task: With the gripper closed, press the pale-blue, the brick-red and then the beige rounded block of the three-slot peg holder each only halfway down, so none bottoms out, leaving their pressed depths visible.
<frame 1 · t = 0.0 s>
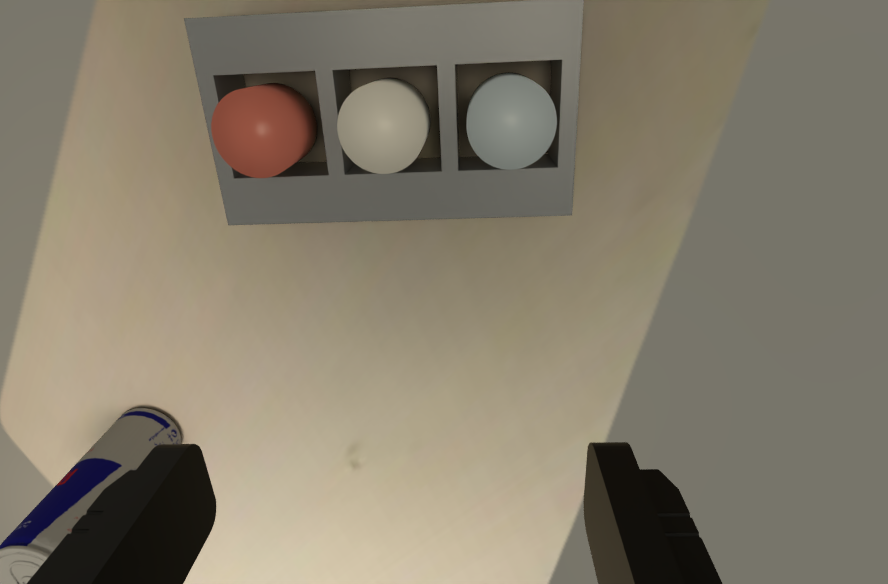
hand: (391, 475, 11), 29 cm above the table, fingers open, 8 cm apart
red rounded block: (267, 129, 32), point 5 cm above the table, slide at 0.0 cm
beige rounded block: (386, 124, 31), point 6 cm above the table, slide at 0.0 cm
pale blue rounded block: (509, 119, 31), point 6 cm above the table, slide at 0.0 cm
beverage can: (153, 429, 49), on the table
three-slot peg holder: (398, 113, 36), on the table
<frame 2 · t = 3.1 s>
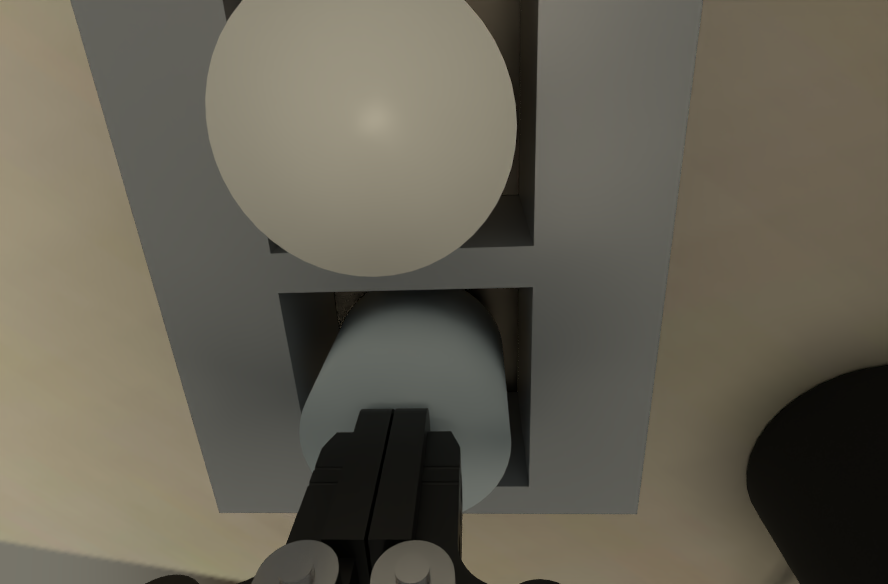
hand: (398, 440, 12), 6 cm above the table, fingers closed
beige rounded block: (380, 117, 10), point 5 cm above the table, slide at 0.0 cm
pale blue rounded block: (413, 392, 14), point 4 cm above the table, slide at 1.2 cm, touching gripper
three-slot peg holder: (411, 92, 15), on the table
mug: (836, 495, 21), on the table
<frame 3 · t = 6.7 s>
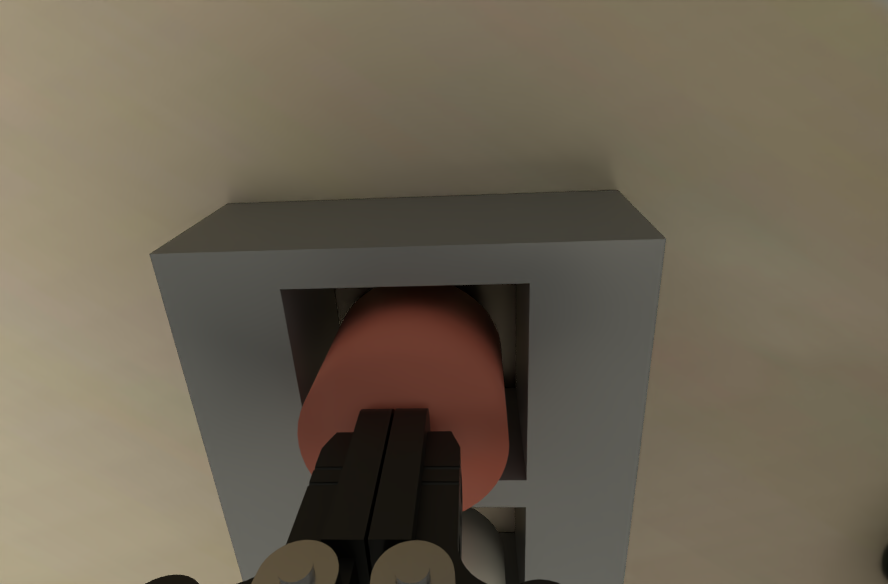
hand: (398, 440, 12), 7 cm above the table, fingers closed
red rounded block: (411, 393, 14), point 5 cm above the table, slide at 0.9 cm, touching gripper
three-slot peg holder: (437, 475, 21), on the table
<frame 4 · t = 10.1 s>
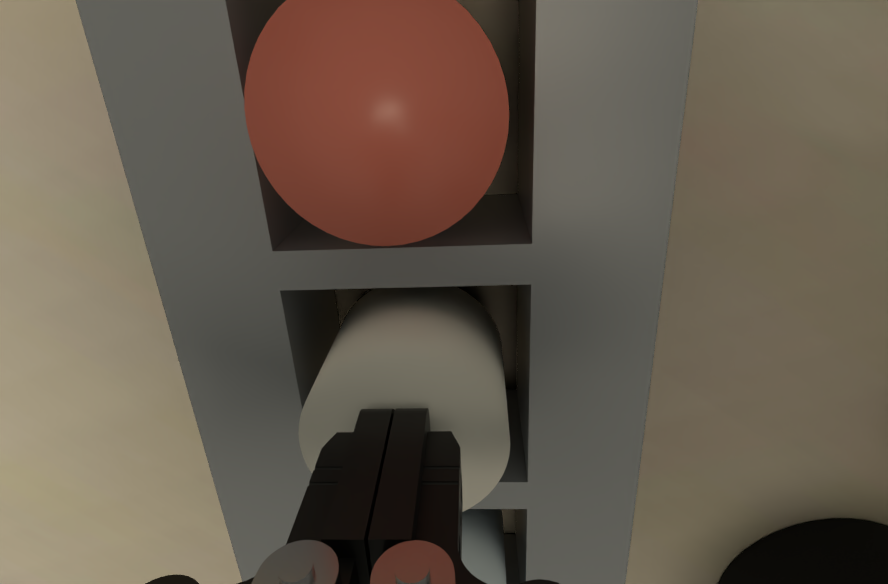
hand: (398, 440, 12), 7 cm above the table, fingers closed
red rounded block: (391, 108, 12), point 4 cm above the table, slide at 1.4 cm
beige rounded block: (412, 393, 14), point 4 cm above the table, slide at 1.0 cm, touching gripper
pale blue rounded block: (429, 568, 17), point 4 cm above the table, slide at 1.4 cm
three-slot peg holder: (426, 315, 18), on the table
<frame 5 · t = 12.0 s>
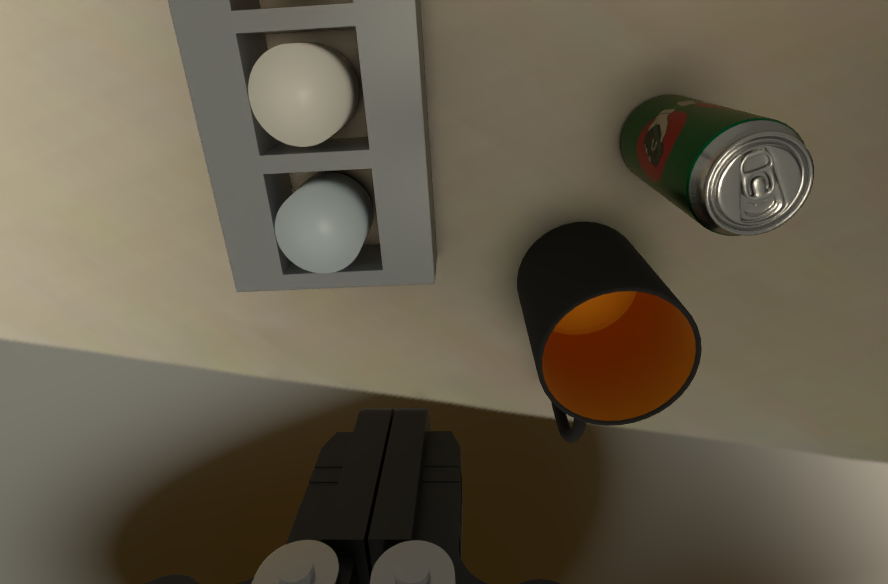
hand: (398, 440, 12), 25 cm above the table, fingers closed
beige rounded block: (307, 93, 29), point 4 cm above the table, slide at 1.4 cm
pale blue rounded block: (326, 221, 32), point 4 cm above the table, slide at 1.4 cm
soda can: (659, 137, 33), on the table
three-slot peg holder: (324, 87, 32), on the table
mug: (569, 302, 38), on the table
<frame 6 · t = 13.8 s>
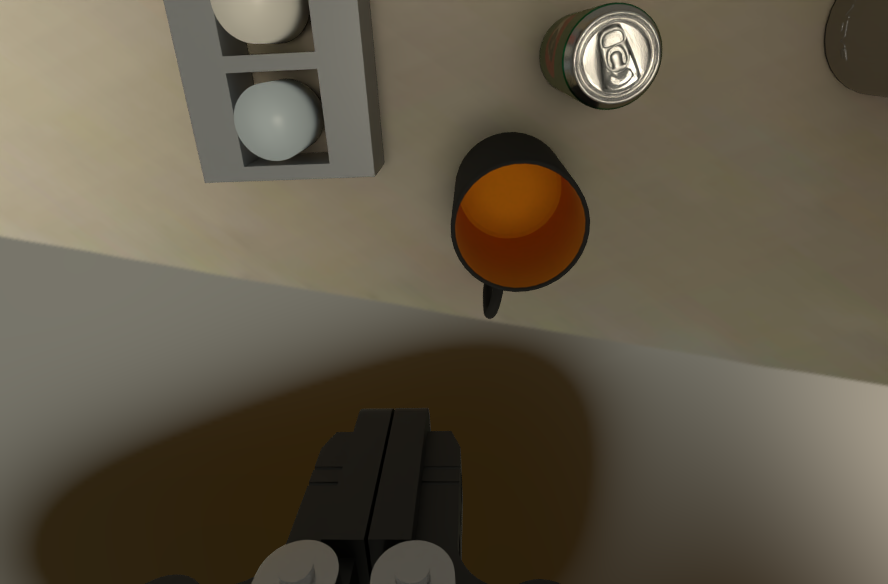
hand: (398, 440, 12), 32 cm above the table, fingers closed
beige rounded block: (262, 1, 34), point 4 cm above the table, slide at 1.4 cm
pale blue rounded block: (281, 118, 37), point 4 cm above the table, slide at 1.4 cm
soda can: (574, 54, 38), on the table
three-slot peg holder: (282, 5, 38), on the table
mug: (503, 209, 43), on the table
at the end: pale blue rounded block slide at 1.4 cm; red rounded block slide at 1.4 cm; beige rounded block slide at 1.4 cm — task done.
